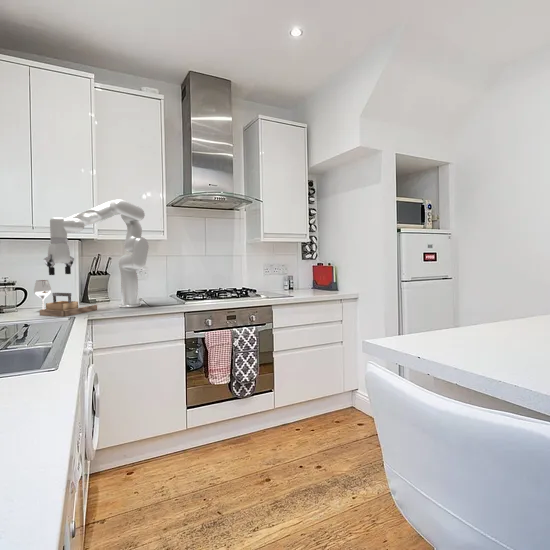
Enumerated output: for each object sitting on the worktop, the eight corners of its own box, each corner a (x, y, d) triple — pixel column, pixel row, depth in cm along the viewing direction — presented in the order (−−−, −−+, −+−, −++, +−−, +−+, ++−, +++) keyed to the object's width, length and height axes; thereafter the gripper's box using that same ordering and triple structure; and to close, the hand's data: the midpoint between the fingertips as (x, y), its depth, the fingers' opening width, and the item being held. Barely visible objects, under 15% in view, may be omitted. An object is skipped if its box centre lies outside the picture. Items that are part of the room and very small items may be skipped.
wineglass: (35, 314, 202) (33, 281, 200) (34, 312, 208) (32, 280, 207) (53, 312, 206) (51, 280, 205) (51, 311, 213) (49, 279, 212)
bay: (75, 310, 213) (75, 303, 213) (97, 312, 208) (97, 304, 207) (39, 317, 192) (39, 309, 192) (63, 319, 187) (63, 311, 187)
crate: (63, 311, 202) (62, 291, 202) (78, 312, 199) (77, 292, 198) (46, 314, 193) (45, 293, 192) (62, 315, 189) (61, 294, 189)
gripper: (67, 242, 203) (68, 273, 203) (38, 241, 186) (39, 275, 187) (78, 242, 200) (79, 273, 201) (49, 240, 184) (50, 275, 185)
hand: (60, 274), depth 194 cm, fingers open, 9 cm apart
